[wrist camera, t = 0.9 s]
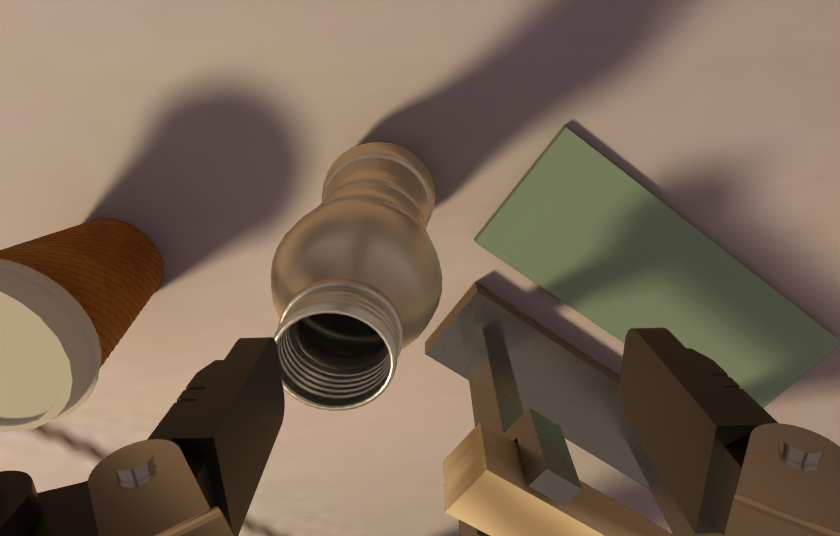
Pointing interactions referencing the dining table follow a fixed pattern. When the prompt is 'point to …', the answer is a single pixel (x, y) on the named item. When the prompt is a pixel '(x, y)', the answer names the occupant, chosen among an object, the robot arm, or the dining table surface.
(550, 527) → the beech rail
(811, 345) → the rubber mat
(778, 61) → the dining table surface
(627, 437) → the rail stand
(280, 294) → the plastic bottle
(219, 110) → the dining table surface
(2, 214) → the dining table surface
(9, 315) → the disposable coffee cup
